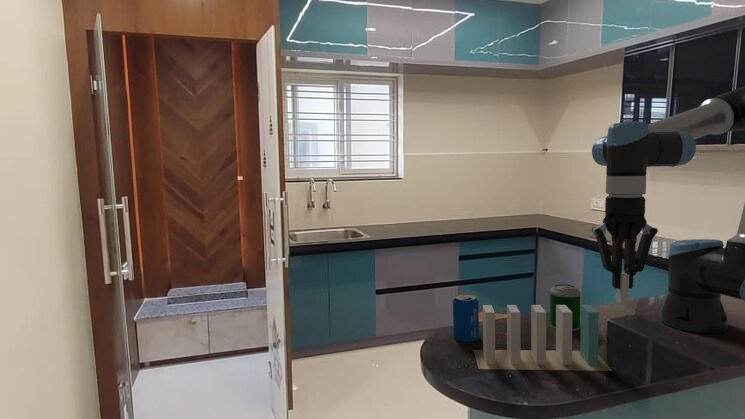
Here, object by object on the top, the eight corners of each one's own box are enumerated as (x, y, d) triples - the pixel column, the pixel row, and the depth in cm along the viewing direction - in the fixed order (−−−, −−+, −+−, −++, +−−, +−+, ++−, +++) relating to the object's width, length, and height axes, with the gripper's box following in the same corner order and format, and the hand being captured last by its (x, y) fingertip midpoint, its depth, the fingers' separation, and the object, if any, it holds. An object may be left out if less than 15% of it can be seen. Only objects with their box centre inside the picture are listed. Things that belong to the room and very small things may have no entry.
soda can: (583, 336, 118) (583, 291, 117) (552, 334, 120) (552, 290, 118) (576, 325, 126) (576, 283, 124) (547, 324, 127) (547, 282, 126)
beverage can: (464, 348, 114) (463, 302, 112) (448, 340, 119) (447, 295, 118) (484, 342, 116) (483, 297, 115) (468, 334, 122) (467, 291, 121)
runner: (594, 355, 107) (594, 350, 107) (612, 375, 97) (612, 370, 97) (473, 354, 110) (473, 349, 110) (478, 374, 100) (478, 368, 100)
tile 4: (516, 354, 106) (515, 305, 105) (520, 364, 101) (520, 312, 100) (507, 354, 106) (506, 305, 105) (511, 364, 101) (510, 312, 100)
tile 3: (540, 354, 106) (540, 304, 104) (546, 364, 101) (546, 312, 99) (531, 354, 106) (531, 304, 104) (536, 364, 101) (536, 312, 99)
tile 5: (491, 354, 107) (491, 305, 105) (495, 364, 102) (494, 312, 100) (483, 354, 107) (482, 305, 106) (486, 363, 102) (485, 312, 101)
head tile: (589, 355, 104) (590, 304, 103) (597, 365, 99) (598, 312, 98) (580, 355, 105) (580, 304, 103) (588, 365, 100) (588, 312, 98)
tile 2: (564, 355, 105) (565, 304, 104) (571, 364, 100) (572, 312, 99) (555, 354, 105) (556, 304, 104) (562, 364, 100) (562, 312, 99)
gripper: (648, 193, 100) (645, 297, 103) (587, 194, 101) (584, 297, 104) (667, 196, 93) (662, 308, 95) (600, 197, 94) (597, 307, 97)
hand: (621, 302), depth 100 cm, fingers closed
